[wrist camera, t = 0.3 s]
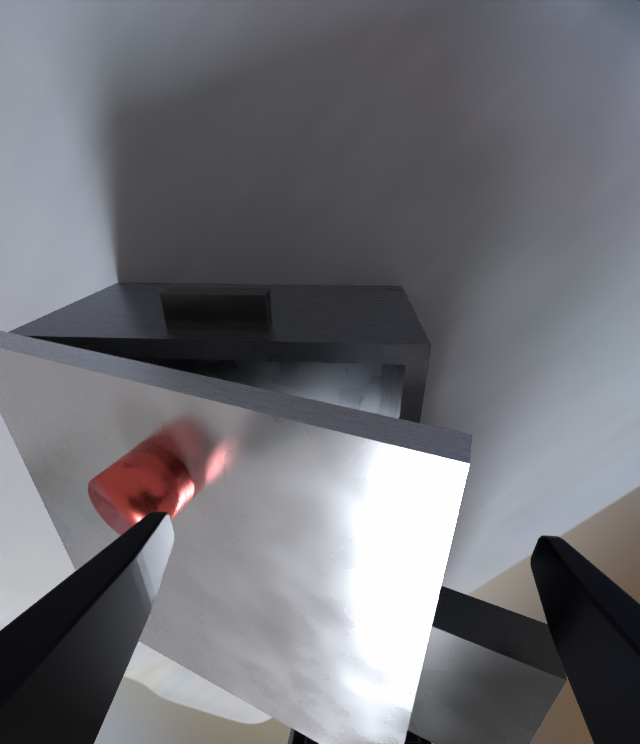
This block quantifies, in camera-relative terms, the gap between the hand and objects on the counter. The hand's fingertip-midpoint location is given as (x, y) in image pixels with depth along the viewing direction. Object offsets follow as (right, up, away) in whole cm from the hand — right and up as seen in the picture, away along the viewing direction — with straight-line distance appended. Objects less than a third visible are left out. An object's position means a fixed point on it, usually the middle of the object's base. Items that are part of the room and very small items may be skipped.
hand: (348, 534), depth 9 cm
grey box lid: (-4, -3, +5) cm, 7 cm away
